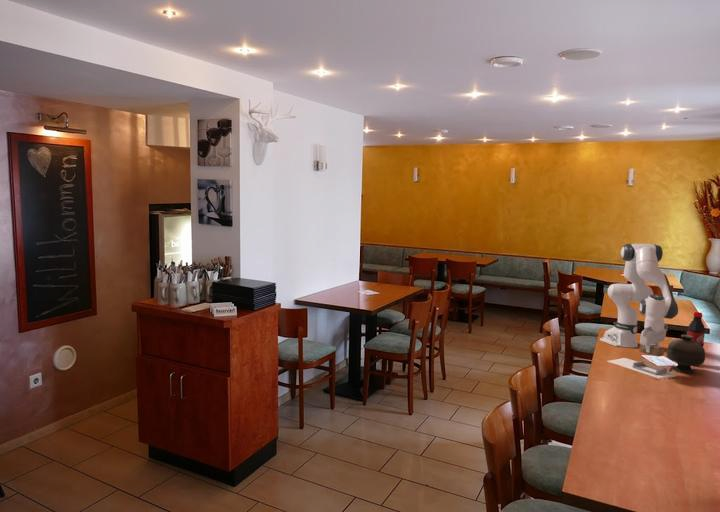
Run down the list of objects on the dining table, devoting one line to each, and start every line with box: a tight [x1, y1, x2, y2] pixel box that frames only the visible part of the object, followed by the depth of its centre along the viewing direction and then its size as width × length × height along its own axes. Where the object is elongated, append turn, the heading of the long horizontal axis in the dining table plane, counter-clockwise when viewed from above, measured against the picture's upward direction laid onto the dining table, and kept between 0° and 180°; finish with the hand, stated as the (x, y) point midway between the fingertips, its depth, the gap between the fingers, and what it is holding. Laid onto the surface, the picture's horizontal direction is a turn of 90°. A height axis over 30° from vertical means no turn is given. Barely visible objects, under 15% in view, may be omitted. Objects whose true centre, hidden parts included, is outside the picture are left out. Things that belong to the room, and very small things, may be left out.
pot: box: [666, 334, 706, 375], centre depth 286 cm, size 18×18×20 cm
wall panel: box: [607, 357, 678, 381], centre depth 286 cm, size 30×16×4 cm, turn 28°
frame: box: [638, 344, 665, 357], centre depth 281 cm, size 10×6×4 cm, turn 36°
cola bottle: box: [686, 311, 706, 367], centre depth 298 cm, size 8×8×30 cm
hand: (651, 351), depth 281 cm, fingers closed on frame, 5 cm apart
